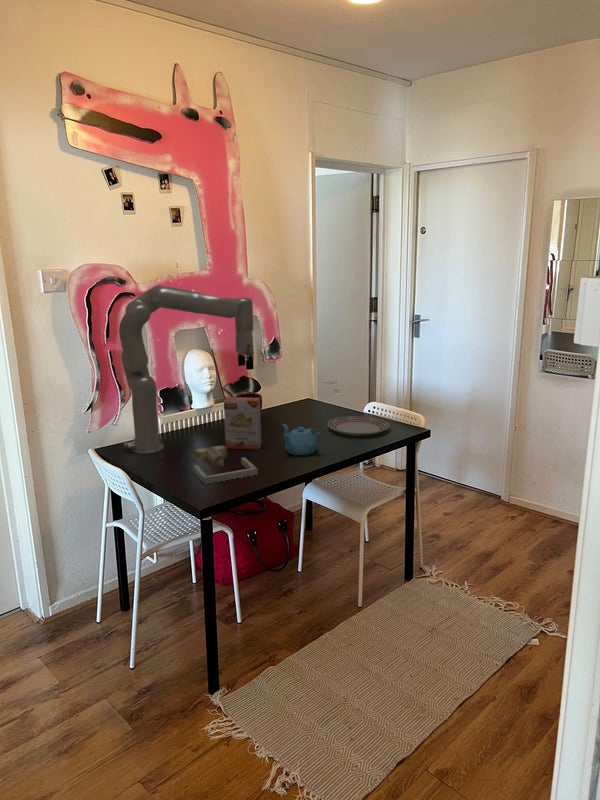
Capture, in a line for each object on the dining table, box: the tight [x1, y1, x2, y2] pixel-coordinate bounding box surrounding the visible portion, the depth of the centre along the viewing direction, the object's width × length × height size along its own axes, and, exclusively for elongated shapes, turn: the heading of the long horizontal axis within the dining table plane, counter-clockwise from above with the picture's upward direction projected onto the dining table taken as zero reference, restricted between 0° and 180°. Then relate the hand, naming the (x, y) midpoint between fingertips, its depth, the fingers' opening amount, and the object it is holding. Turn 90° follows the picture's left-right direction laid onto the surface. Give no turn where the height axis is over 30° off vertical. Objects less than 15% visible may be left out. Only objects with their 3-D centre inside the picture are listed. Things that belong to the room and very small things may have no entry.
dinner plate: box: [327, 415, 390, 437], centre depth 270 cm, size 27×27×3 cm
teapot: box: [282, 423, 322, 456], centre depth 242 cm, size 15×15×10 cm
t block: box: [193, 444, 228, 468], centre depth 233 cm, size 12×12×4 cm
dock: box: [193, 456, 259, 485], centre depth 221 cm, size 20×14×2 cm
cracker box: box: [223, 396, 262, 451], centre depth 247 cm, size 14×6×21 cm, turn 82°
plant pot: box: [234, 392, 263, 418], centre depth 287 cm, size 13×13×12 cm
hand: (245, 367), depth 259 cm, fingers open, 9 cm apart
